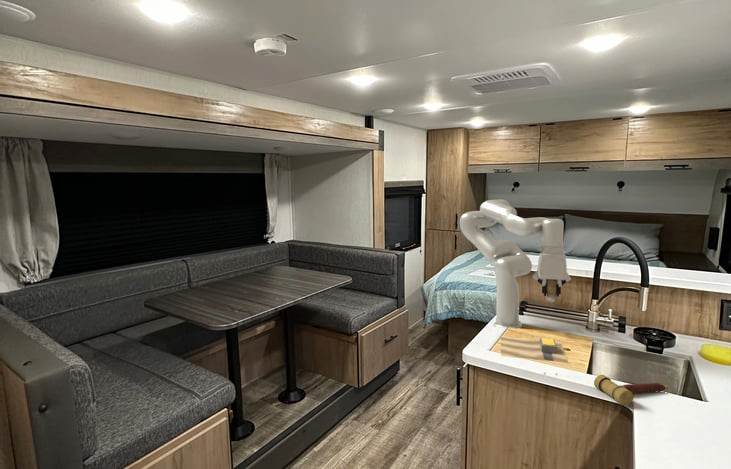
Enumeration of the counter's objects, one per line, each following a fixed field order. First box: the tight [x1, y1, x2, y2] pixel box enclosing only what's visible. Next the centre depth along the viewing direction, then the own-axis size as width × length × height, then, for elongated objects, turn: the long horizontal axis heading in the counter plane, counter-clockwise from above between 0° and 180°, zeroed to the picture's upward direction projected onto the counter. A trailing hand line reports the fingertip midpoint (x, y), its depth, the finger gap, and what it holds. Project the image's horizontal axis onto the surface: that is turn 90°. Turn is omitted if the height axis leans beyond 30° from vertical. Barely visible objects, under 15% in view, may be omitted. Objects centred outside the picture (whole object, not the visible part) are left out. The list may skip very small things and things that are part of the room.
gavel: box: [593, 374, 669, 406], centre depth 115 cm, size 21×5×10 cm
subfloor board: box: [500, 336, 569, 364], centre depth 146 cm, size 19×22×2 cm
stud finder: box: [539, 337, 557, 354], centre depth 144 cm, size 7×5×3 cm
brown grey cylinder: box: [545, 279, 558, 303], centre depth 153 cm, size 4×4×9 cm
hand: (551, 295), depth 153 cm, fingers closed on brown grey cylinder, 4 cm apart
